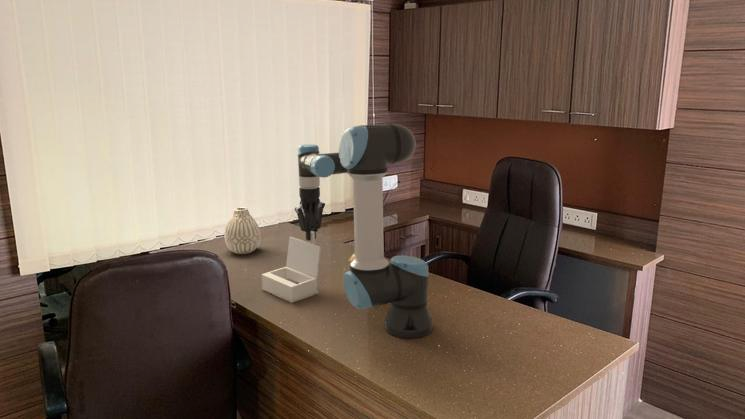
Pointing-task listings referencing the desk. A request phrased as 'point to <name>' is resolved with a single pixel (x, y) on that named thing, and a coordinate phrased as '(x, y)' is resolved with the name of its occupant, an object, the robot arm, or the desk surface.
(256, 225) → the vase
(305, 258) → the cover
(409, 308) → the robot arm
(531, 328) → the desk surface
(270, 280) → the open white tray
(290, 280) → the plug block
